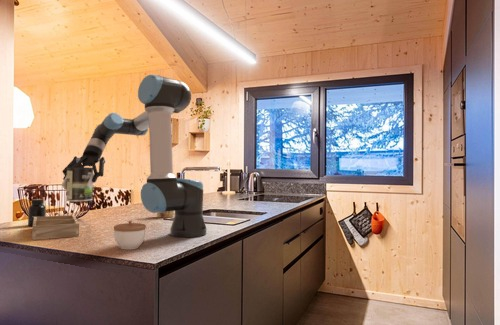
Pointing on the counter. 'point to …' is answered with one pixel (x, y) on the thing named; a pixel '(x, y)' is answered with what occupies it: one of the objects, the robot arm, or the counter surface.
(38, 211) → the supplement bottle
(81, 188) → the coffee can
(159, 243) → the counter surface
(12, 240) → the counter surface
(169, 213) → the candy box
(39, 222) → the caddy
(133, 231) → the lidded jar
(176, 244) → the counter surface
